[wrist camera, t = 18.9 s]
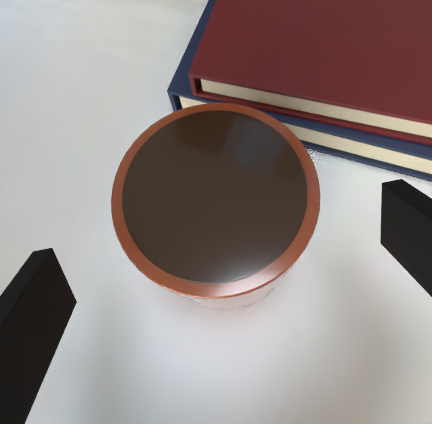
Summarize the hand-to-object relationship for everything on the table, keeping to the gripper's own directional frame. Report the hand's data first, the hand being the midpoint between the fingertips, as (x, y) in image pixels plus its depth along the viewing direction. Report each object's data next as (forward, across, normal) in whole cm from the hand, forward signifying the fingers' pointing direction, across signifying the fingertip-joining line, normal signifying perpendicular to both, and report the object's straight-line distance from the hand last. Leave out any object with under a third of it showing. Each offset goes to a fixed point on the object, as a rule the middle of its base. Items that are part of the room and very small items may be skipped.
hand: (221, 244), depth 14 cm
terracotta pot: (+7, 0, -5) cm, 9 cm away
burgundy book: (+14, +12, +5) cm, 19 cm away
